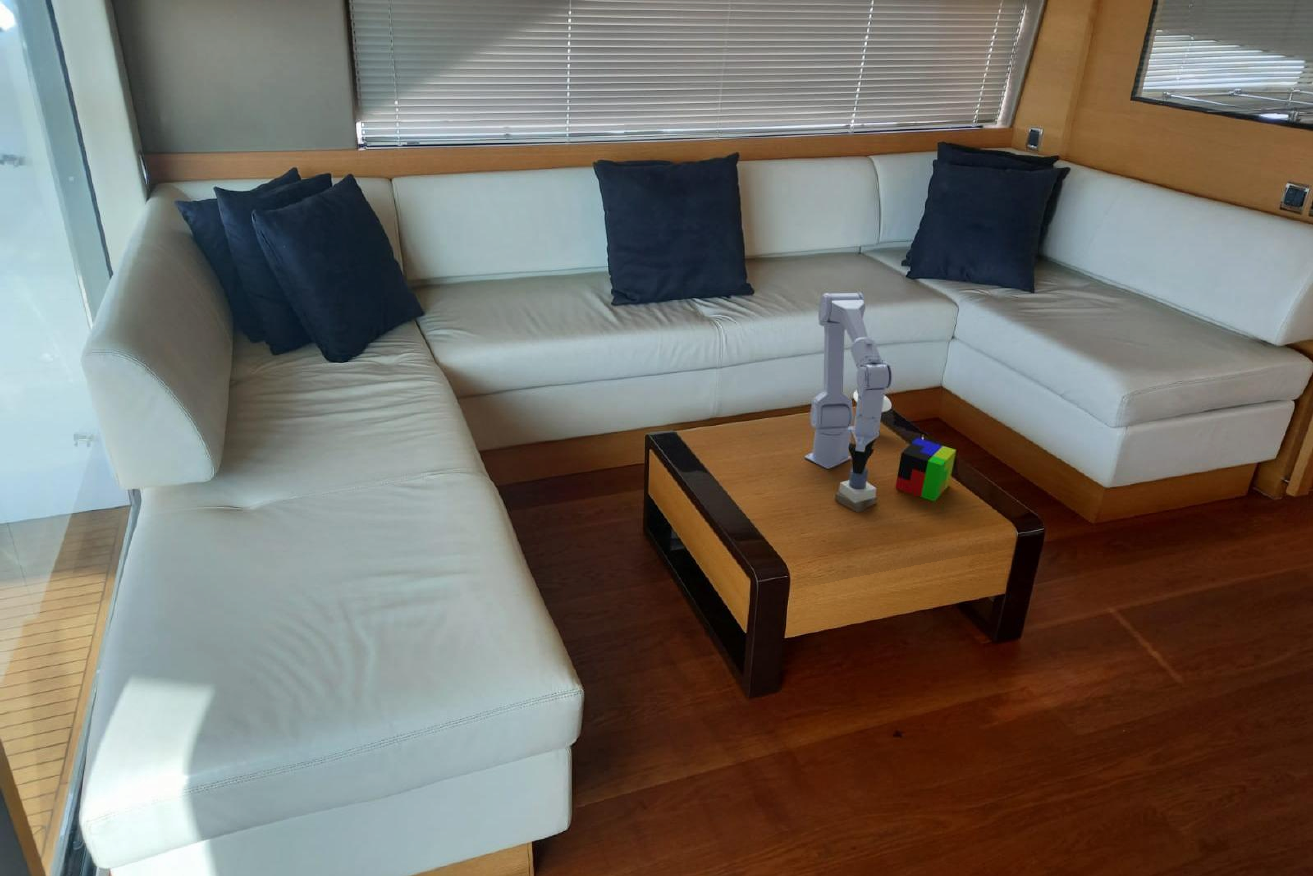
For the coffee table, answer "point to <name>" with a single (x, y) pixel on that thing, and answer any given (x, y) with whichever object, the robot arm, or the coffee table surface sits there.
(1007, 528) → the coffee table surface
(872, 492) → the cream top block
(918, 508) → the coffee table surface
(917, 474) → the puzzle toy
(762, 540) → the coffee table surface
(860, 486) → the navy rounded cylinder
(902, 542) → the coffee table surface
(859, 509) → the walnut base block
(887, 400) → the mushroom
